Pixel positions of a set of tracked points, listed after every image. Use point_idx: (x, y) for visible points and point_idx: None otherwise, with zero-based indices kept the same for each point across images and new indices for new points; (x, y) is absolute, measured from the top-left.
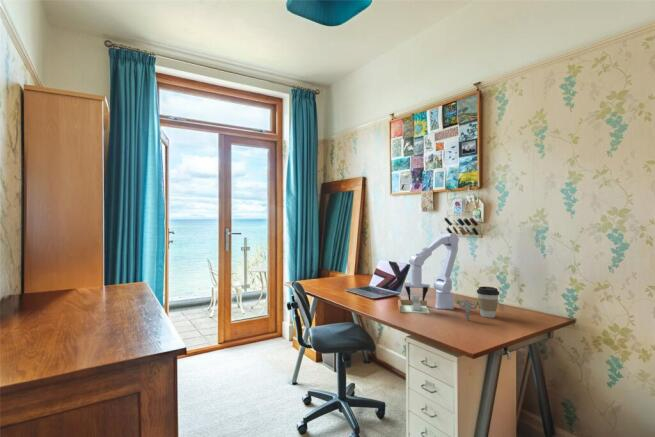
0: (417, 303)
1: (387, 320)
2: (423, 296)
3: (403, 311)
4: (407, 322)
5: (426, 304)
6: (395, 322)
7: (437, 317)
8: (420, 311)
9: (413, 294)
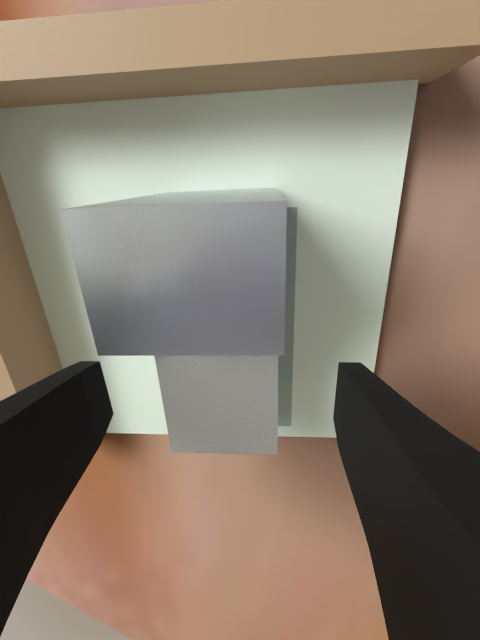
0: (232, 451)
1: (36, 583)
2: (361, 515)
3: None
4: (159, 602)
5: (442, 73)
6: (90, 604)
7: None
8: None
9: (118, 222)
